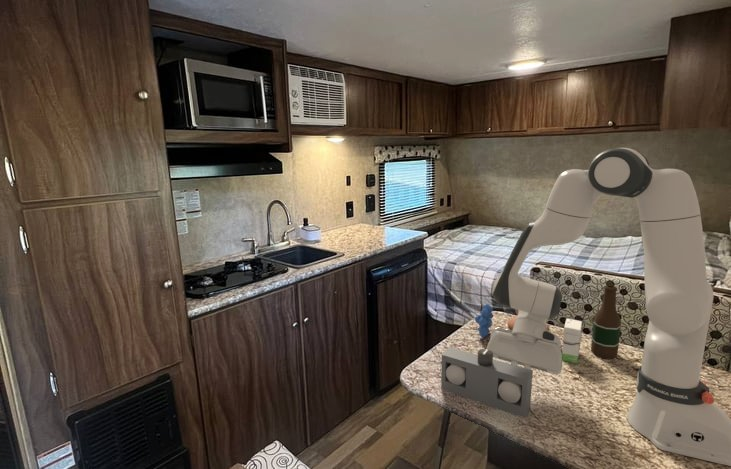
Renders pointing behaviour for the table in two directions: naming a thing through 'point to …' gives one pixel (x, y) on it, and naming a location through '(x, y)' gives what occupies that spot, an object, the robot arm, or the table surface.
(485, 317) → the grapes
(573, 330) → the ink box
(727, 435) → the robot arm
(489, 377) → the mount
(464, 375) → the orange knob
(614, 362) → the table surface
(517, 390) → the cream knob
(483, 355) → the pot dial
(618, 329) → the beer bottle
